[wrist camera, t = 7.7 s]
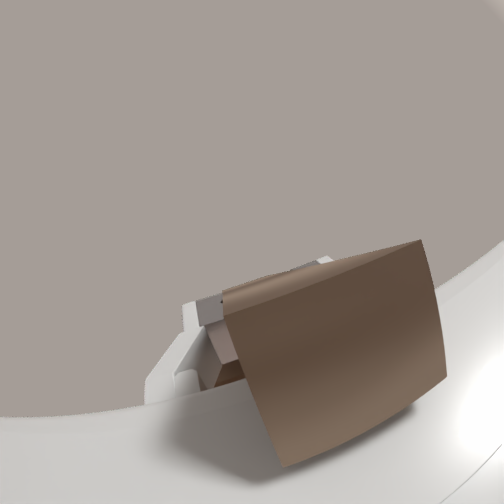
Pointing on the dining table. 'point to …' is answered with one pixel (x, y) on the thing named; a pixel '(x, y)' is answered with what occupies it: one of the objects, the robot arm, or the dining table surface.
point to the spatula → (337, 346)
